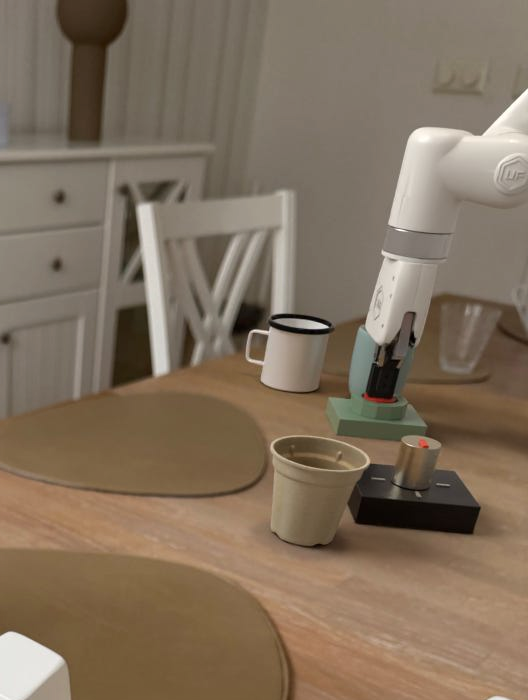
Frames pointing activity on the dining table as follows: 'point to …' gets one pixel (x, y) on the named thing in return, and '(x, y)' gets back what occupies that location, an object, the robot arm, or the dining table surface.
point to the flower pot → (312, 486)
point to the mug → (293, 351)
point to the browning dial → (416, 462)
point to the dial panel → (413, 502)
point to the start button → (380, 399)
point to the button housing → (374, 418)
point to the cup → (364, 360)
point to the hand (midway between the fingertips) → (378, 395)
